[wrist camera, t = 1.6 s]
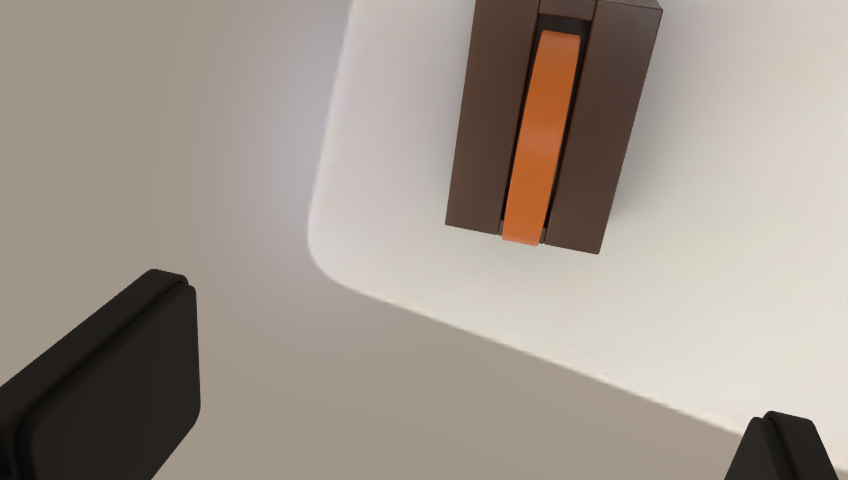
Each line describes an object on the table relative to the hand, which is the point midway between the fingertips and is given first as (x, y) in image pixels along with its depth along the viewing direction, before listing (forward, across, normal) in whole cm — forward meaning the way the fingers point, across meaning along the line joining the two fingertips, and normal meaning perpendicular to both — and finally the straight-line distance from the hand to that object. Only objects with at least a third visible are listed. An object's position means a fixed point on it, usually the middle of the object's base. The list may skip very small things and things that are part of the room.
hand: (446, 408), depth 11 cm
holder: (+17, 0, -1) cm, 17 cm away
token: (+17, 0, -1) cm, 17 cm away
